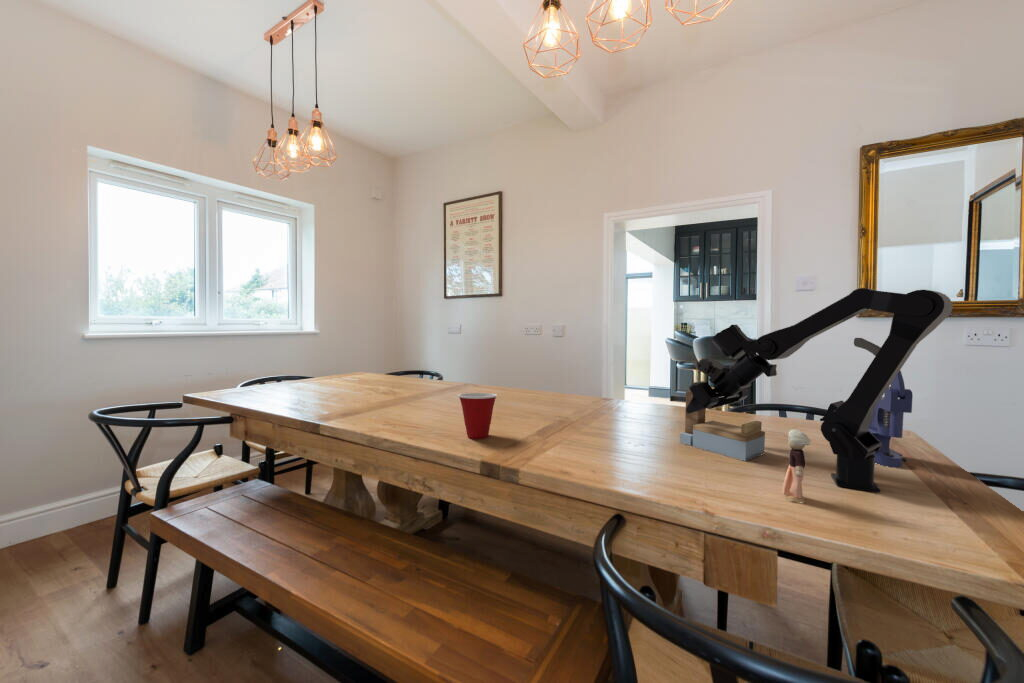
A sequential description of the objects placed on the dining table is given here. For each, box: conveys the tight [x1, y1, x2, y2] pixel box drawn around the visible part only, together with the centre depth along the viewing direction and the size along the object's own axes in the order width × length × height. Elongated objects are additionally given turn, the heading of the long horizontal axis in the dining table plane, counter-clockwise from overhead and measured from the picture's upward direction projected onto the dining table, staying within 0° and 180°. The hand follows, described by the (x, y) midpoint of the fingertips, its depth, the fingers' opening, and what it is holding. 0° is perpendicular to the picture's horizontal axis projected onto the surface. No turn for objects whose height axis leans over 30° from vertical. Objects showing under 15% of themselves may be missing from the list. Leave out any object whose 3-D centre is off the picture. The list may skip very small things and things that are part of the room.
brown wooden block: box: [684, 389, 706, 435], centre depth 107 cm, size 4×4×14 cm
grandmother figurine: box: [781, 428, 811, 504], centre depth 72 cm, size 8×4×13 cm, turn 159°
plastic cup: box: [457, 392, 498, 440], centre depth 111 cm, size 11×11×12 cm
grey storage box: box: [679, 429, 766, 462], centre depth 102 cm, size 17×9×4 cm, turn 34°
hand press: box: [853, 337, 914, 469], centre depth 95 cm, size 19×9×28 cm, turn 164°
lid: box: [693, 420, 766, 442], centre depth 100 cm, size 13×9×4 cm
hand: (697, 409), depth 106 cm, fingers open, 9 cm apart
